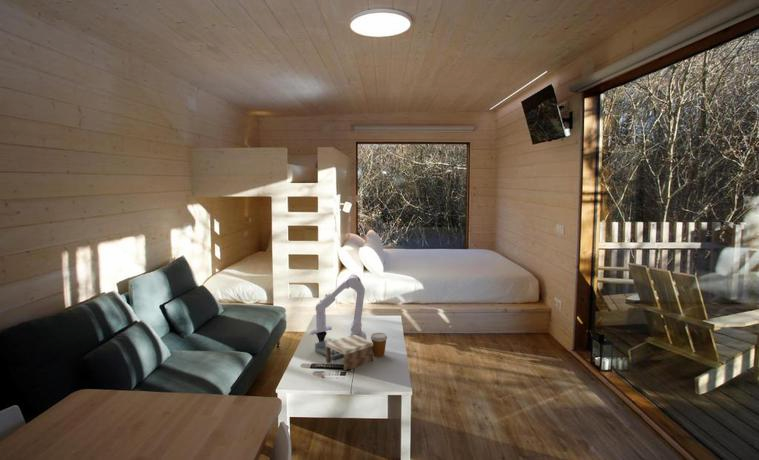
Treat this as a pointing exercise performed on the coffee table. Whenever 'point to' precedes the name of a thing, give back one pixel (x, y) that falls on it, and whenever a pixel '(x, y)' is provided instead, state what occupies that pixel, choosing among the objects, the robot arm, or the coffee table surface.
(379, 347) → the disposable coffee cup
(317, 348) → the tray
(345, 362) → the wooden slatted crate
